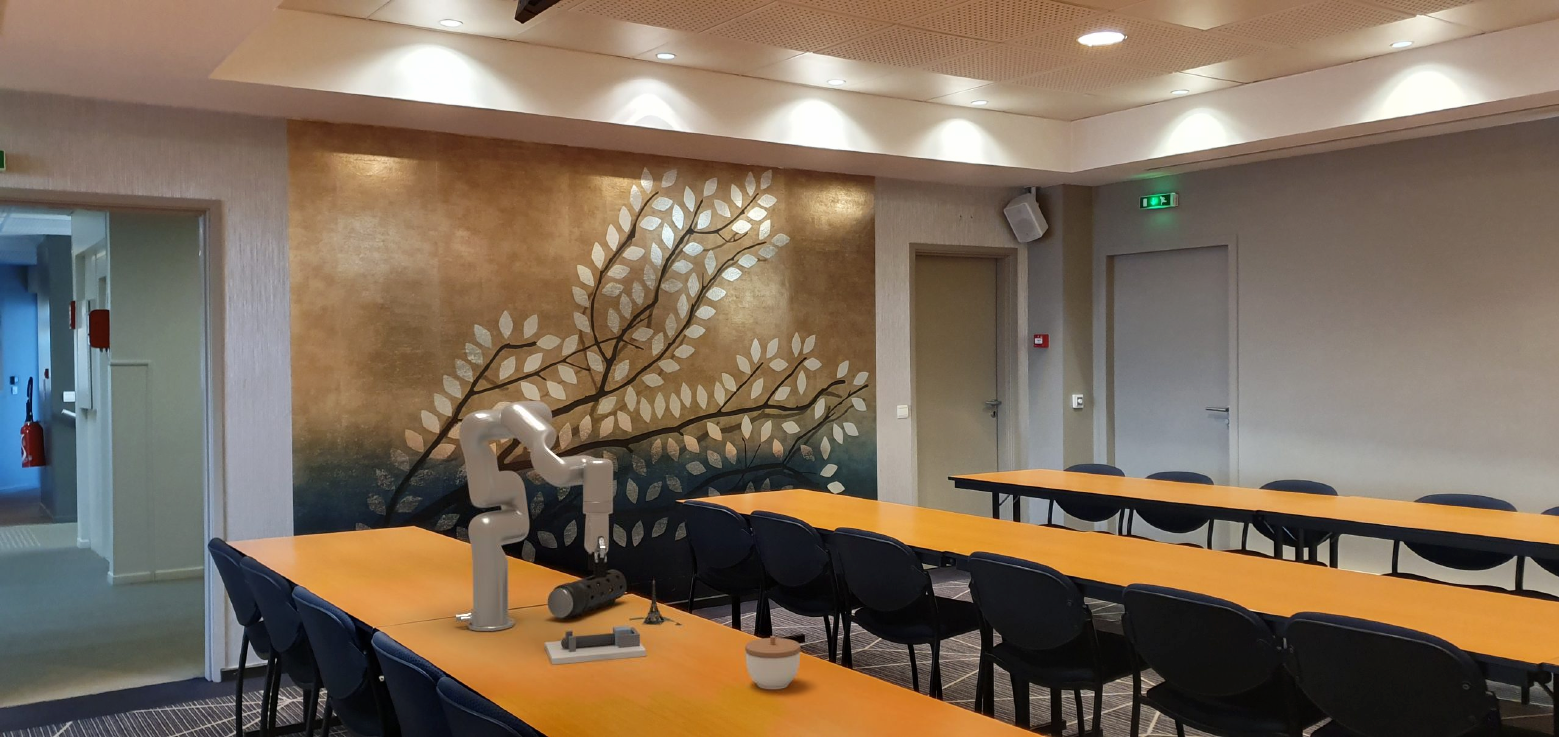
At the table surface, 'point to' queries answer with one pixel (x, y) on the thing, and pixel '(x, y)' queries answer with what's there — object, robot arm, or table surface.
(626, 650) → the cable board
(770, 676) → the lidded bowl
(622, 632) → the cable
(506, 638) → the table surface
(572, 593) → the muzzle brake
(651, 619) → the eiffel tower figurine
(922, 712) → the table surface
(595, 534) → the robot arm
